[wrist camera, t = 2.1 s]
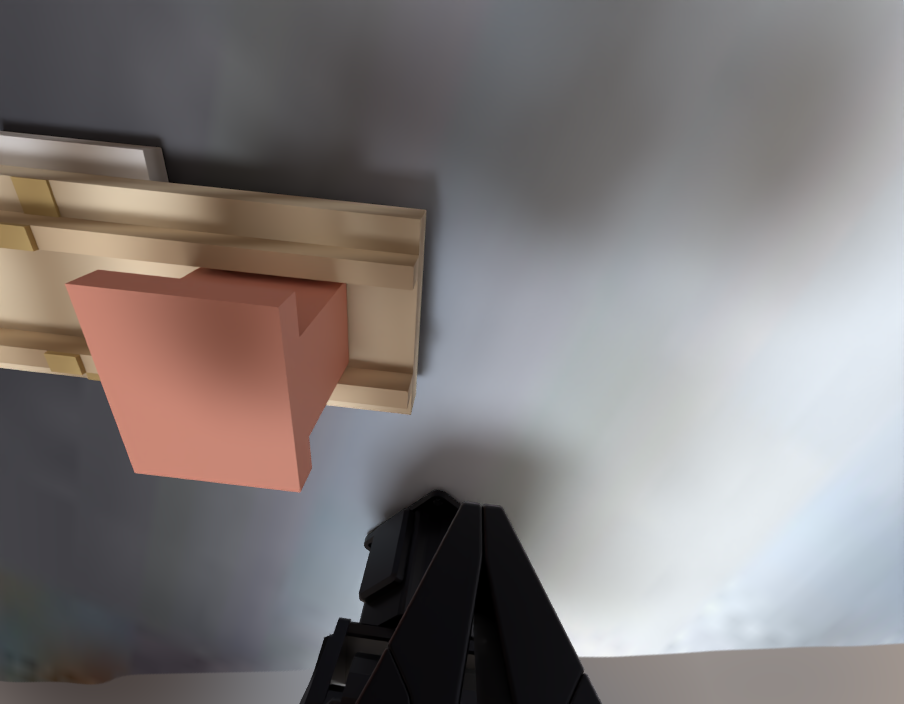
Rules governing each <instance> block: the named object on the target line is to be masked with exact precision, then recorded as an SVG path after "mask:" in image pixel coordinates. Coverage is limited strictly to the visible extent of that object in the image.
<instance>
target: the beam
mask: <svg viewBox="0 0 904 704" xmlns="http://www.w3.org/2000/svg"><path fill="white" fill-rule="evenodd" d="M425 226H426V210H423V209H414V208H405V207H395V206H386V205H376V204H367V203H357V202H348V201H338V200H329V199H319V198H310V197H301V196H291V195H282V194H272V193H263V192H253V191H244V190H234V189H225V188H216V187H206V186H197V185H187V184H178V183H169V181H168V176H167V172H166V167H165V163H164V158H163V153H162V149H161V148H160V147H150V146H141V145H131V144H121V143H112V142H102V141H93V140H83V139H74V138H64V137H54V136H45V135H35V134H26V133H16V132H6V131H0V368H7V369H16V370H24V371H33V372H42V373H51V374H59V375H68V376H77V377H86V378H88V379H90V380H99V381H101V380H100V377H99V375H98V372H97V369H96V367H95V364H94V361H93V359H92V356H91V353H90V350H89V348H88V345H87V342H86V340H85V337H84V334H83V332H82V329H81V326H80V323H79V321H78V318H77V315H76V313H75V310H74V307H73V305H72V302H71V299H70V296H69V294H68V291H67V288H66V286H65V283H68V282H70V281H72V280H75V279H77V278H79V277H82V276H84V275H86V274H89V273H91V272H93V271H96V270H107V271H116V272H125V273H134V274H144V275H153V276H162V277H171V278H182V277H184V276H185V275H187V274H189V273H191V272H192V271H194V270H196V269H198V268H200V267H202V268H211V269H220V270H230V271H239V272H248V273H257V274H266V275H275V276H285V277H294V278H303V279H312V280H321V281H330V282H339V283H346V288H347V318H348V348H349V363H348V365H347V367H346V369H345V370H344V372H343V374H342V376H341V378H340V380H339V382H338V383H337V385H336V387H335V389H334V391H333V393H332V395H331V396H330V398H329V400H328V402H327V404H326V405H330V406H339V407H348V408H356V409H365V410H374V411H383V412H391V413H400V414H409V415H411V412H412V408H413V404H414V400H415V396H416V384H417V366H418V349H419V331H420V314H421V296H422V279H423V261H424V244H425Z"/></svg>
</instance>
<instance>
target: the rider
mask: <svg viewBox="0 0 904 704" xmlns="http://www.w3.org/2000/svg"><path fill="white" fill-rule="evenodd" d="M65 286H66V288H67V291H68V294H69V296H70V299H71V302H72V305H73V307H74V310H75V313H76V315H77V318H78V321H79V323H80V326H81V329H82V332H83V334H84V337H85V340H86V342H87V345H88V348H89V350H90V353H91V356H92V359H93V361H94V364H95V367H96V369H97V372H98V375H99V377H100V380H101V383H102V386H103V388H104V391H105V394H106V396H107V399H108V402H109V404H110V407H111V410H112V412H113V415H114V418H115V421H116V423H117V426H118V429H119V431H120V434H121V437H122V439H123V442H124V445H125V448H126V450H127V453H128V456H129V458H130V461H131V464H132V466H133V469H134V472H135V473H140V474H149V475H157V476H165V477H174V478H182V479H191V480H199V481H208V482H216V483H225V484H233V485H242V486H250V487H258V488H267V489H275V490H284V491H292V492H301V490H302V488H303V486H304V484H305V482H306V480H307V477H308V475H309V473H310V471H311V469H312V463H311V453H310V442H309V436H310V434H311V432H312V430H313V428H314V426H315V424H316V423H317V421H318V419H319V417H320V415H321V413H322V411H323V409H324V408H325V406H326V404H327V402H328V400H329V398H330V396H331V395H332V393H333V391H334V389H335V387H336V385H337V383H338V382H339V380H340V378H341V376H342V374H343V372H344V370H345V369H346V367H347V365H348V363H349V348H348V318H347V288H346V283H339V282H330V281H321V280H312V279H303V278H294V277H285V276H275V275H266V274H257V273H248V272H239V271H230V270H220V269H211V268H202V267H200V268H198V269H196V270H194V271H192V272H191V273H189V274H187V275H185V276H184V277H182V278H171V277H162V276H153V275H144V274H134V273H125V272H116V271H107V270H96V271H93V272H91V273H89V274H86V275H84V276H82V277H79V278H77V279H75V280H72V281H70V282H68V283H65Z"/></svg>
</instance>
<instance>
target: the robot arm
mask: <svg viewBox="0 0 904 704" xmlns="http://www.w3.org/2000/svg"><path fill="white" fill-rule="evenodd" d="M437 499H440V500H437ZM364 546H365V548H366V549H367V550H369V551H370V553H369V557H368V561H367V564H366V568H365V572H364V576H363V580H362V583H361V587H360V591H359V599H360V600H361V601H362V602H364V606H363V610H362V614H361V618H360V622H359V623H358V622H351V619H347V618H339V620H338V622H337V625H336V628H335V631H334V634H332V635H329V636H327V637H324V641H323V644H322V647H321V650H320V654H319V657H318V660H317V663H316V666H315V669H314V672H313V675H312V678H311V680H310V682H309V685H308V687H307V689H306V691H305V693H304V695H303V697H302V699H301V702H300V704H602V703H601V701H600V699H599V697H598V695H597V693H596V691H595V689H594V687H593V685H592V683H591V681H590V679H589V677H588V675H587V674H586V673H584V674H583V672H584V668H583V666H582V664H581V662H580V660H579V658H578V656H577V654H576V652H575V650H574V648H573V646H572V644H571V642H570V640H569V638H568V636H567V634H566V632H565V630H564V628H563V626H562V624H561V622H560V620H559V618H558V616H557V614H556V612H555V610H554V608H553V606H552V604H551V602H550V600H549V598H548V596H547V594H546V592H545V590H544V588H543V586H542V584H541V582H540V580H539V578H538V576H537V574H536V572H535V570H534V568H533V566H532V564H531V562H530V560H529V558H528V556H527V554H526V552H525V550H524V548H523V546H522V544H521V542H520V540H519V538H518V536H517V534H516V532H515V530H514V528H513V526H512V524H511V523H510V521H509V519H508V517H507V515H506V513H505V511H504V509H503V508H502V507H501V506H498V505H490V504H484V505H483V506H482V505H481V504H479V503H473V502H463V503H462V504H460V503H458V502H457V501H456V500H454V499H453V498H452V497H451V496H449V495H448V494H447V493H445V492H443V491H441V490H435V491H432V492H431V493H429V494H428V495H426V496H425V497H423V498H422V499H420V500H419V501H417V502H416V503H415V504H413V505H412V506H410V507H409V508H407V509H404V510H402V511H401V512H399V513H398V514H396V515H395V516H393V517H392V518H390V519H389V520H388V521H386V522H385V523H383V524H382V525H380V526H379V527H377V528H376V530H375V531H373V532H372V533H370V534H369V535H367V536H366V539H365V542H364ZM582 674H583V675H582Z"/></svg>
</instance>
